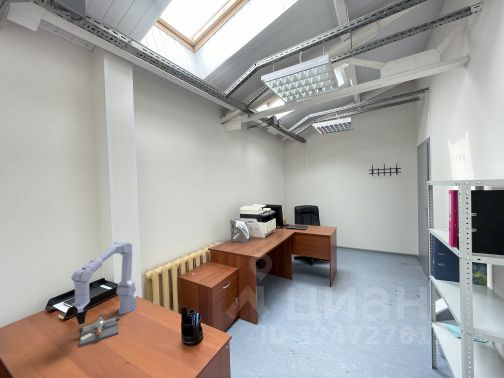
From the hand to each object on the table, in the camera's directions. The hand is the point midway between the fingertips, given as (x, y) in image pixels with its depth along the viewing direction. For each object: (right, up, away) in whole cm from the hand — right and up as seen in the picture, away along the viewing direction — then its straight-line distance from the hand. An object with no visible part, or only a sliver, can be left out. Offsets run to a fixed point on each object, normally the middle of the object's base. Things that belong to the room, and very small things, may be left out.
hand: (82, 319), depth 109 cm
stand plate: (+5, -10, +6) cm, 12 cm away
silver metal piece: (+5, -8, +6) cm, 11 cm away
